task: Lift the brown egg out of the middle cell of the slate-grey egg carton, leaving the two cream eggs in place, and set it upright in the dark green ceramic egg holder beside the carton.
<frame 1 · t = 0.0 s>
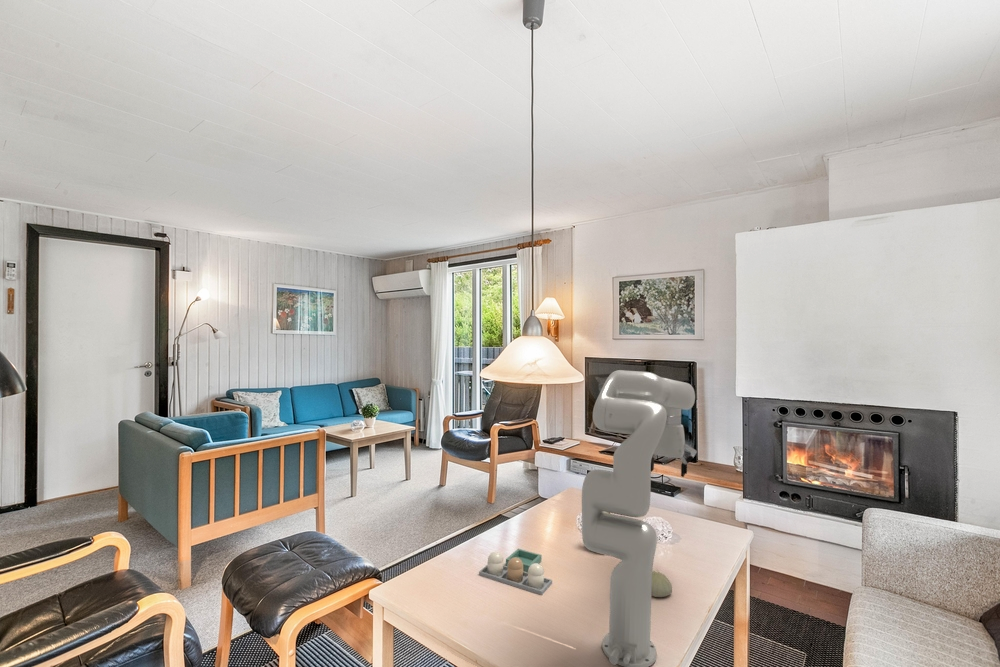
hand: (667, 473, 154), 31 cm above the table, tool pointing down, fingers open, 9 cm apart
decorative figurine: (600, 550, 168), on the table
brown egg: (515, 579, 146), resting on egg carton
egg holder: (523, 565, 155), on the table
cream egg right: (535, 585, 142), resting on egg carton
egg carton: (515, 580, 146), on the table
cream egg left: (495, 572, 149), resting on egg carton
sea urchin shell: (655, 591, 142), on the table
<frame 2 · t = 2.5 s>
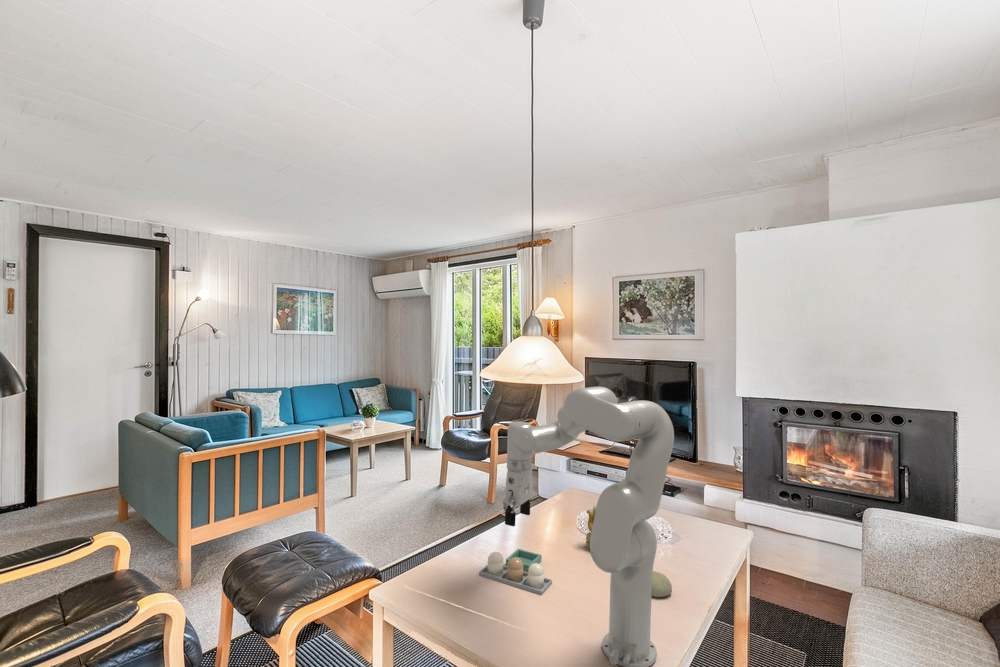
hand: (517, 519, 146), 19 cm above the table, tool pointing down, fingers open, 9 cm apart
nothing on the table moved.
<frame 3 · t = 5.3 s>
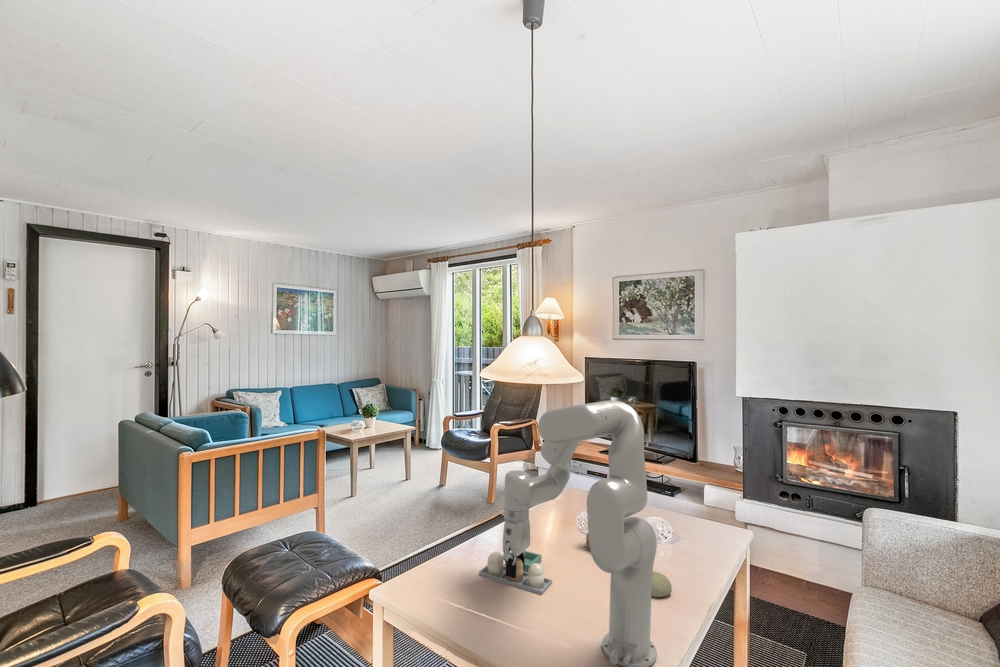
hand: (515, 572, 146), 3 cm above the table, tool pointing down, fingers closed on brown egg, 4 cm apart
brown egg: (515, 579, 146), point 1 cm above the table, touching egg carton, gripper
everything else where it was.
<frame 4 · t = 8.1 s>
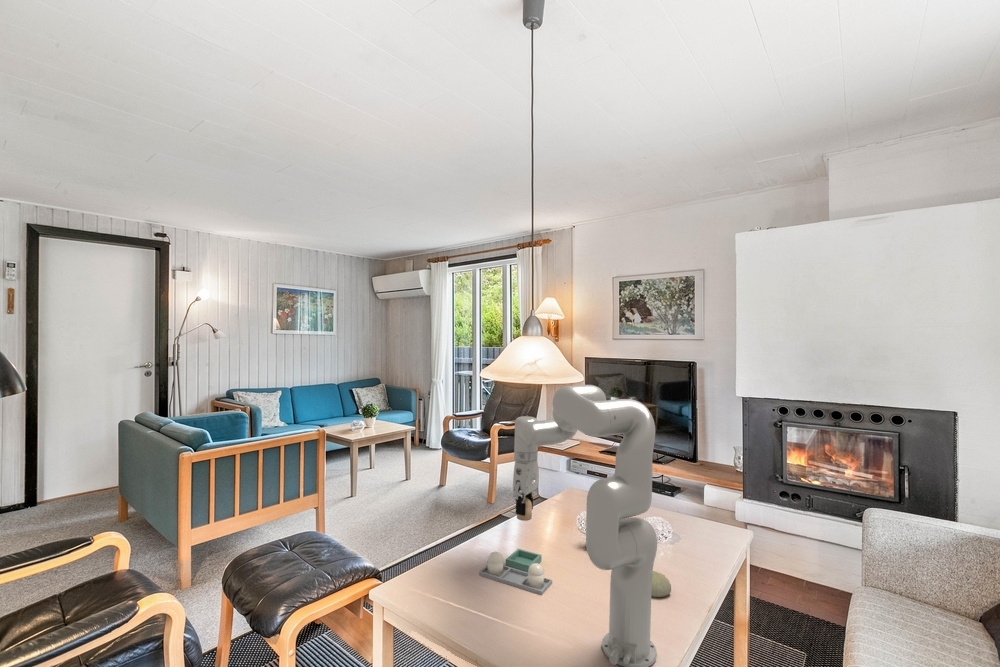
hand: (524, 511, 155), 18 cm above the table, tool pointing down, fingers closed on brown egg, 4 cm apart
brown egg: (524, 517, 155), point 16 cm above the table, touching gripper
everything else where it was.
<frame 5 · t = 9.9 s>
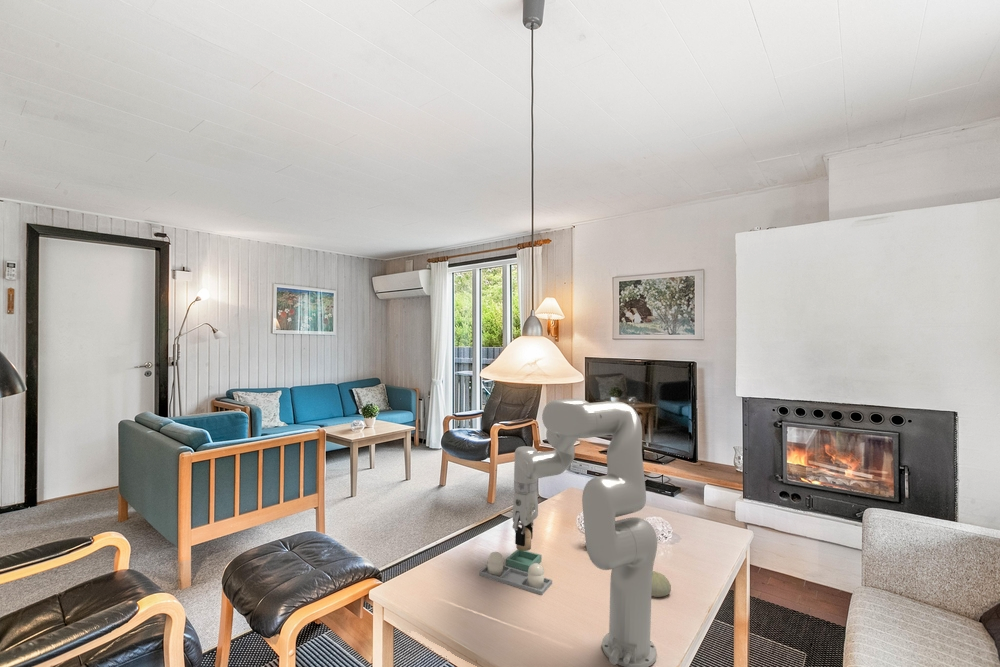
hand: (523, 541, 155), 8 cm above the table, tool pointing down, fingers closed on brown egg, 4 cm apart
brown egg: (523, 547, 156), point 6 cm above the table, touching gripper
everything else where it was.
when the fingers open (4 cm above the table, at t = 11.4 s): brown egg drops 2 cm, resting on egg holder.
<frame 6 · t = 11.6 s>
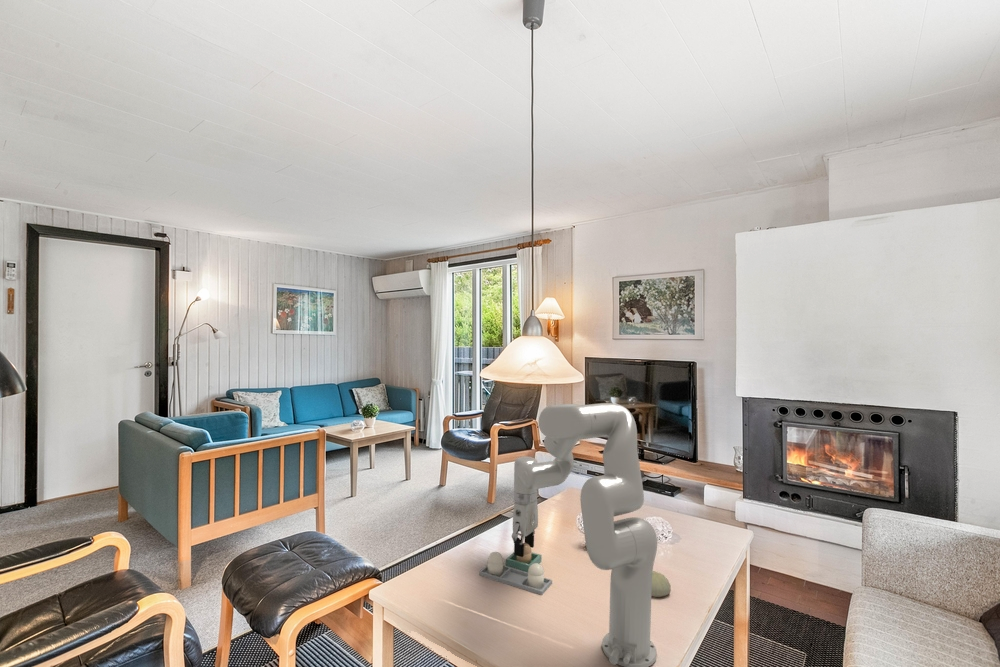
hand: (524, 550, 155), 5 cm above the table, tool pointing down, fingers open, 6 cm apart
brown egg: (523, 563, 155), point 1 cm above the table, touching egg holder
everything else where it was.
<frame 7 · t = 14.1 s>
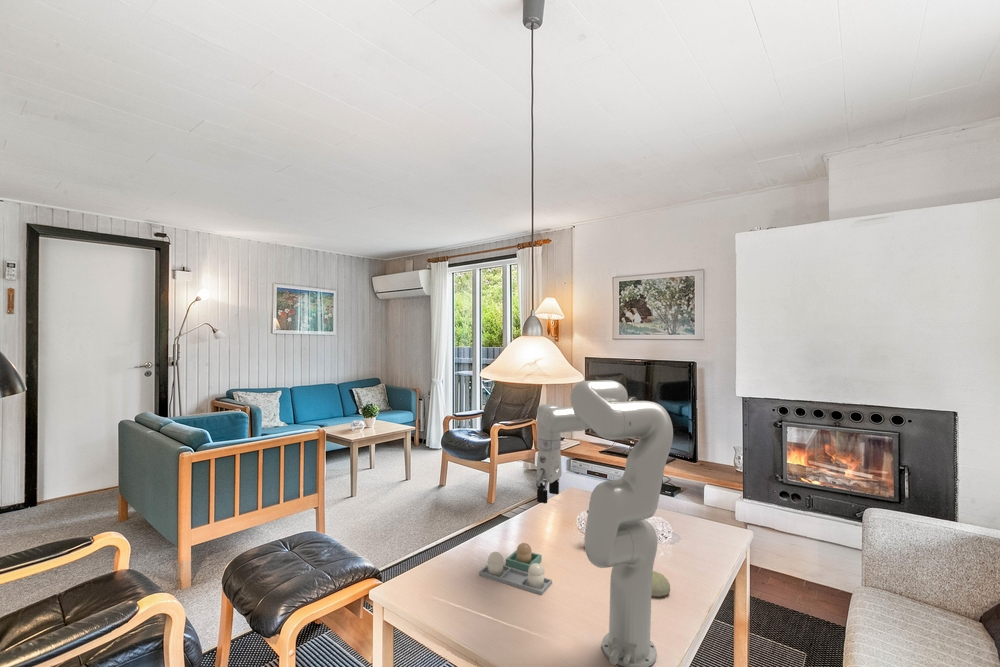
hand: (548, 498, 152), 23 cm above the table, tool pointing down, fingers open, 9 cm apart
nothing on the table moved.
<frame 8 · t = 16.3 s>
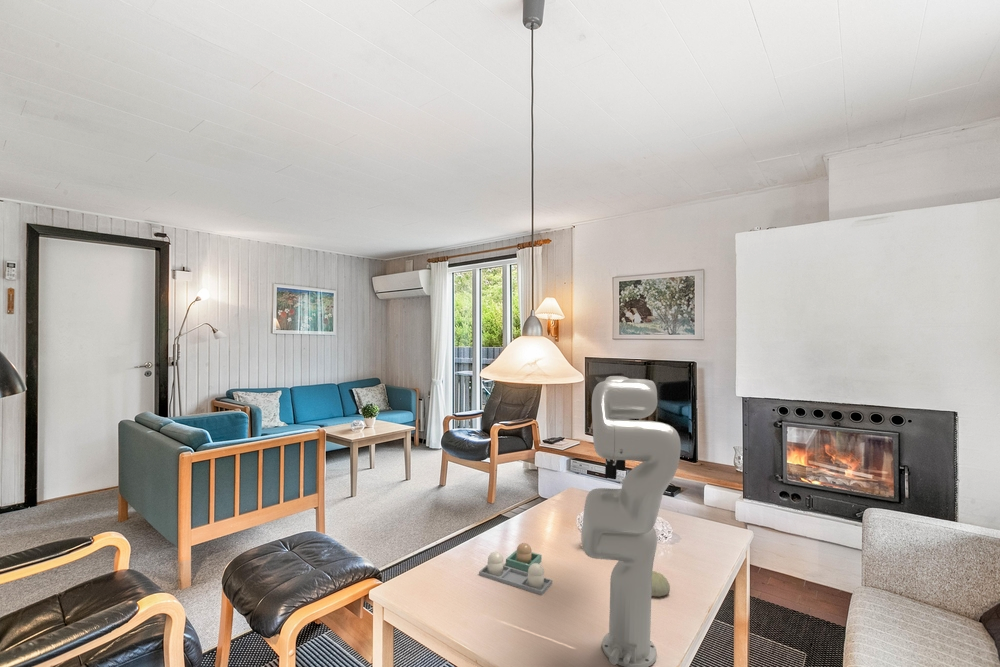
hand: (615, 474, 145), 33 cm above the table, tool pointing down, fingers open, 9 cm apart
nothing on the table moved.
at the end: brown egg 0.0 cm off-centre on the egg holder, point 0.6 cm above the egg holder's base; brown egg tilted 0°; cream egg left moved 0.0 cm from its start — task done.
